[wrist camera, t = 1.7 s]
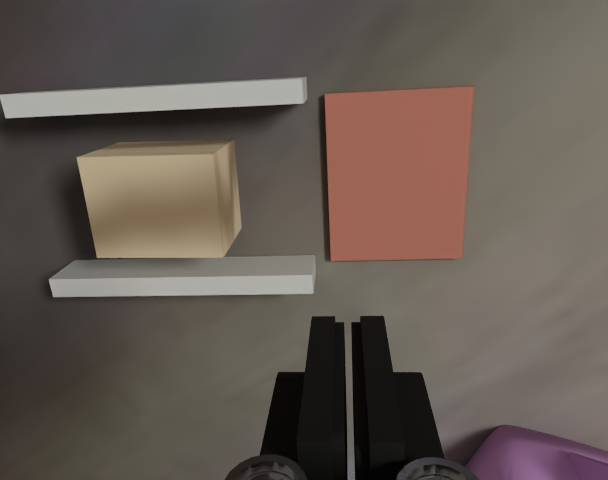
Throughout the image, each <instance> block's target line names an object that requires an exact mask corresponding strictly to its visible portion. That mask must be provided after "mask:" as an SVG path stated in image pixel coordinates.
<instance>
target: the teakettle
mask: <svg viewBox="0 0 608 480" xmlns="http://www.w3.org/2000/svg"><path fill="white" fill-rule="evenodd" d="M465 467H466V468H467V469H468V470H470V471H471V472H472V473H473V474H474V475H476V476H477V477H478V479H479V480H608V452H607V451H604V450H600V449H597V448H594V447H591V446H588V445H585V444H581V443H578V442H575V441H572V440H568V439H564V438H561V437H557V436H553V435H550V434H546V433H542V432H538V431H534V430H530V429H526V428H521V427H516V426H511V425H502V426H499V427H498V428H496V429H494V430H493V431H492V432H491V433H490V434H489V435H488V436H487V437H486V439H485V440H484V441H483V442H482V444H481V445H480V446H479V447H478V449H477V450H476V452H475V453H474V454H473V456H472V457H471V459H470V460H469V461H468V463H467V464H466V466H465Z"/></svg>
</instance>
